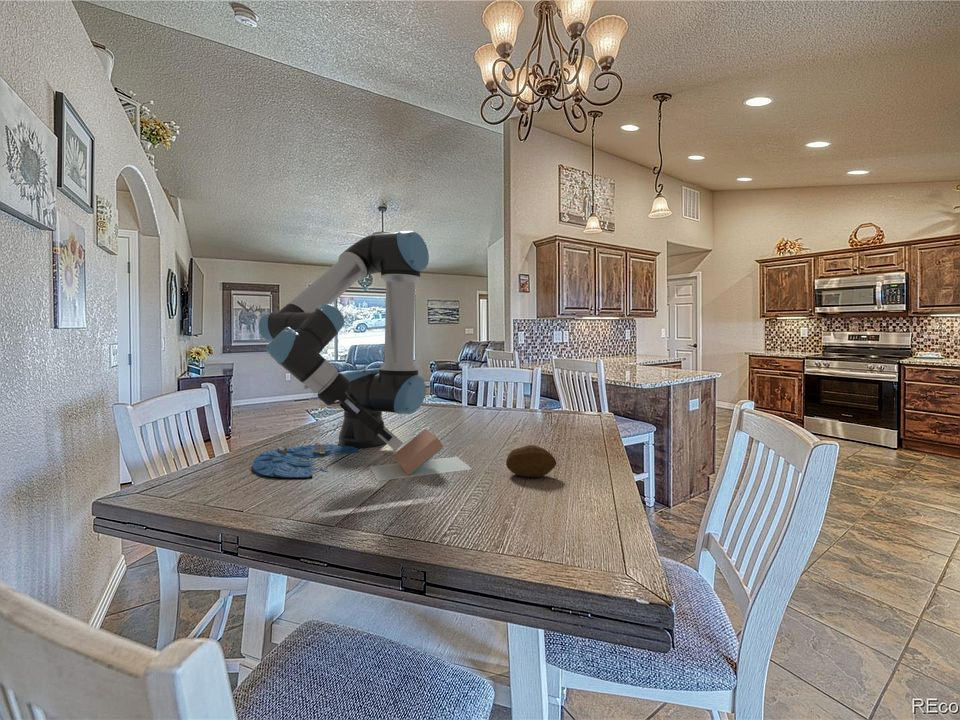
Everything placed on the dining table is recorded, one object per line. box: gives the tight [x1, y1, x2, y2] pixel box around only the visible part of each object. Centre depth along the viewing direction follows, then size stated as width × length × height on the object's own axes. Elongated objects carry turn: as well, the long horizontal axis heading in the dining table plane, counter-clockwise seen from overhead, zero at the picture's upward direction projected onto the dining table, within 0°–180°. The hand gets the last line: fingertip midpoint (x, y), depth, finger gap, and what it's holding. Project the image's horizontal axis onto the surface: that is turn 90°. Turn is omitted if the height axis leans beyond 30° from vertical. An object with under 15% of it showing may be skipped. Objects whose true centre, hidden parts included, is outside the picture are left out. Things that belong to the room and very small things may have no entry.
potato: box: [505, 444, 557, 478], centre depth 117 cm, size 8×12×8 cm, turn 88°
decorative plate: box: [252, 442, 363, 479], centre depth 129 cm, size 30×30×5 cm
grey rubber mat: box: [369, 456, 473, 482], centre depth 121 cm, size 12×24×1 cm, turn 113°
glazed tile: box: [391, 428, 444, 475], centre depth 120 cm, size 10×3×11 cm
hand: (398, 446), depth 118 cm, fingers closed
